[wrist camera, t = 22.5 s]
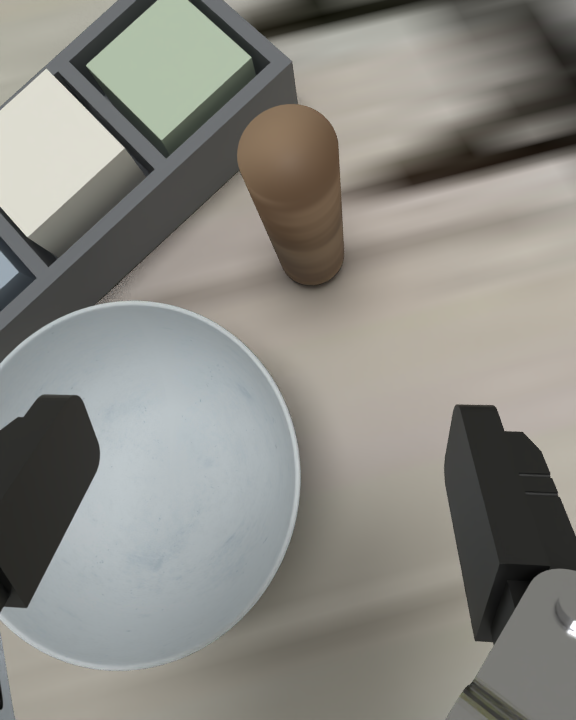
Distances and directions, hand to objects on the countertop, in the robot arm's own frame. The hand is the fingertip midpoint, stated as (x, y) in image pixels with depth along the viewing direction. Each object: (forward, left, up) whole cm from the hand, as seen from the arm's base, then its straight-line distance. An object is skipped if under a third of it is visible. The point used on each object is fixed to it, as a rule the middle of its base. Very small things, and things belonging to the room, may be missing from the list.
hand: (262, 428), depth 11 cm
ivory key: (-20, 0, -15) cm, 25 cm away
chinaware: (-4, -7, -18) cm, 19 cm away
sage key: (-20, +8, -17) cm, 27 cm away
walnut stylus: (-7, +7, -18) cm, 20 cm away
